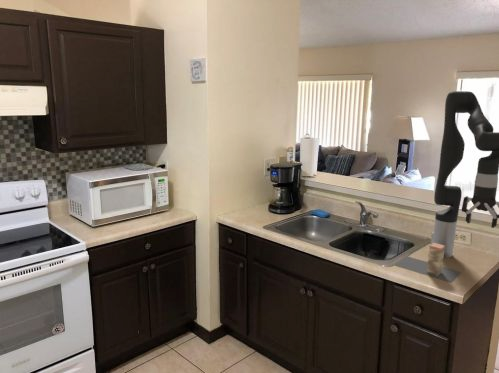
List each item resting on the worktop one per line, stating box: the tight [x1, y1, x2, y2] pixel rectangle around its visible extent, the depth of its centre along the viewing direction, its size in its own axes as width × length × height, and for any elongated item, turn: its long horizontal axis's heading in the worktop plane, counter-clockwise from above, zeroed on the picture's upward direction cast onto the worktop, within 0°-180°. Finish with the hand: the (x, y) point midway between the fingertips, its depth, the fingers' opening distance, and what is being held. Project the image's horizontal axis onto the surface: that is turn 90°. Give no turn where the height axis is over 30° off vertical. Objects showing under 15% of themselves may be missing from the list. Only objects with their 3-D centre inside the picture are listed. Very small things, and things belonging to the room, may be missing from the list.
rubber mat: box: [394, 256, 463, 283], centre depth 179 cm, size 24×14×1 cm, turn 47°
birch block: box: [427, 243, 445, 276], centre depth 174 cm, size 4×4×12 cm
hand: (480, 225), depth 162 cm, fingers open, 8 cm apart
